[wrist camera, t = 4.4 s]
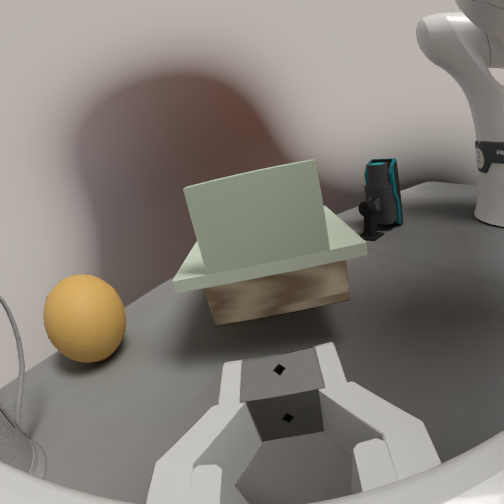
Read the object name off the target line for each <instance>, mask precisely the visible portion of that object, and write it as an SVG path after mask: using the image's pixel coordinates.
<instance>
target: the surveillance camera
mask: <svg viewBox="0 0 504 504" xmlns="http://www.w3.org/2000/svg"><path fill="white" fill-rule="evenodd" d="M365 180H366V186H364V187H365V194H366V201H364V202H362V203H361V204H360V205H359V212H360V214H361V215H362V216H364V232H363V234H361V235H360V237H361V238H362V239H363V240H369V241H375V240H377V239H378V238H380V237H381V236H382V235H384V233H381V232H377V231H376V229H375V226H374V224H386V225H387V224H403V217H402V205H401V195H400V185H399V177H398V169H397V162H396V159H394V158H393V159H373V160H371V161H369V163H368V164H367V165H366V169H365Z"/></svg>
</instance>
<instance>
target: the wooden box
mask: <svg viewBox="0 0 504 504" xmlns="http://www.w3.org/2000/svg"><path fill="white" fill-rule="evenodd" d="M204 291H205V295H206V298H207V301H208V304H209V307H210V310H211V313H212V316H213V319H214V322H215V325H222V324H228V323H234V322H240V321H246V320H252V319H257V318H263V317H268V316H273V315H279V314H284V313H289V312H294V311H299V310H304V309H308V308H313V307H318V306H322V305H327V304H332V303H336V302H340V301H345V300H349V288H348V277H347V268H346V260H343V261H338V262H333V263H329V264H324V265H319V266H314V267H310V268H305V269H300V270H295V271H290V272H285V273H280V274H275V275H270V276H265V277H260V278H255V279H250V280H245V281H240V282H235V283H229V284H224V285H219V286H213V287H208V288H204Z"/></svg>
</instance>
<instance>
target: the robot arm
mask: <svg viewBox="0 0 504 504" xmlns="http://www.w3.org/2000/svg"><path fill="white" fill-rule="evenodd" d="M456 3H457V5H458V6H459V9H460V10H461V11H462V13H438V14H434V15H430V16H426V17H423V18H421V19H420V21H419V23H418V25H417V29H416V36H417V41H418V44H419V46H420V49H421V50H422V52H423V53H424V55H425V56H426V57H427V58H428V59H429V60H430V61H431V62H433V63H434V64H436V65H437V66H439V67H441V68H442V69H444V70H445V71H446V72H448V73H449V74H450V75H451V76H452V77H453V78H454V79H455V80H456V81H457V83H458V84H459V85H460V87H461V88H462V90H463V91H464V93H465V95H466V97H467V100H468V102H469V105H470V109H471V112H472V117H473V121H474V126H475V132H476V139H477V140H476V142H475V148H476V161H477V167H478V170H479V187H478V197H477V203H476V208H475V211H474V215H475V217H476V218H478V219H479V220H481V221H483V222H486V223H489V224H493V225H497V226H502V227H504V86H503V85H501V84H499V83H498V82H497V81H496V80H495V79H494V77H493V76H492V75H491V73H490V71H489V70H488V68H503V69H504V0H456ZM322 431H324V433H325V434H326V435H328V436H329V437H330V438H331V439H332V440H333V441H334V442H335V443H336V444H337V445H338V446H340V447H341V448H342V449H343V450H344V451H345V452H346V453H347V454H348V455H350V456H351V457H352V458H353V463H352V478H351V493H352V495H348V496H343V497H339V498H334V499H329V500H324V501H319V502H313V503H307V504H504V430H503V431H501V432H500V433H498V434H496V435H495V436H493V437H491V438H490V439H488V440H486V441H484V442H483V443H481V444H479V445H477V446H476V447H474V448H472V449H470V450H468V451H466V452H464V453H462V454H460V455H458V456H456V457H454V458H452V459H450V460H448V461H446V462H444V463H441V461H440V459H439V457H438V454H437V452H436V450H435V448H434V445H433V443H432V441H431V439H430V437H429V434H428V432H427V430H426V428H425V426H424V424H423V422H422V421H421V420H419V419H417V418H415V417H414V416H412V415H410V414H408V413H406V412H405V411H403V410H401V409H399V408H398V407H396V406H394V405H392V404H391V403H389V402H387V401H385V400H384V399H382V398H380V397H378V396H377V395H375V394H373V393H372V392H370V391H368V390H366V389H365V388H363V387H361V386H360V385H358V384H356V383H355V382H353V381H352V382H348V383H347V380H346V378H345V375H344V372H343V369H342V366H341V363H340V360H339V357H338V354H337V351H336V349H335V346H334V343H332V342H329V343H325V344H321V345H317V346H314V347H311V348H306V349H302V350H297V351H292V352H287V353H282V354H276V355H270V356H264V357H257V358H250V359H243V360H238V361H230V362H225V363H224V365H223V369H222V377H221V385H220V393H219V400H218V405H216V406H212V407H211V408H210V409H209V410H208V411H207V412H206V413H205V414H204V415H203V416H202V417H201V418H200V420H199V421H198V422H197V423H196V424H195V425H194V426H193V427H192V428H191V429H190V430H189V431H188V432H187V433H186V434H185V435H184V436H183V437H182V438H181V439H180V440H179V441H178V442H177V443H176V444H175V445H174V446H173V447H172V448H171V449H170V450H169V451H168V452H167V453H165V454H164V455H163V456H162V457H161V458H160V459H159V460H158V461H157V462H156V465H155V469H154V473H153V477H152V481H151V485H150V489H149V493H148V497H147V502H146V504H249V503H248V502H247V501H246V500H245V498H244V497H243V496H242V495H241V493H240V492H239V491H238V490H237V488H236V487H235V484H236V483H237V482H238V480H239V479H240V477H241V476H242V474H243V473H244V471H245V470H246V468H247V467H248V465H249V463H250V462H251V460H252V459H253V457H254V456H255V454H256V452H257V451H258V449H259V448H260V446H261V444H262V442H263V441H269V440H275V439H281V438H287V437H292V436H299V435H305V434H311V433H317V432H322ZM0 504H136V503H130V502H125V501H120V500H115V499H110V498H105V497H101V496H97V495H93V494H89V493H85V492H82V491H78V490H75V489H71V488H68V487H65V486H62V485H59V484H56V483H53V482H50V481H47V480H44V479H42V478H39V477H36V476H34V475H31V474H29V473H26V472H24V471H22V470H19V469H17V468H15V467H13V466H10V465H8V464H6V463H4V462H2V461H0Z"/></svg>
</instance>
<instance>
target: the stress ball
mask: <svg viewBox="0 0 504 504" xmlns="http://www.w3.org/2000/svg"><path fill="white" fill-rule="evenodd" d="M44 325H45V329H46V332H47V334H48V338H49V339H50V341H51V342H52V344H53V345H54V346H55V348H57V350H58V351H59V352H61V353H62V354H63V355H65V356H66V357H68V358H70V359H72V360H75V361H78V362H84V363H90V362H96V361H97V362H99V361H104V360H106V359H107V358H109V357H110V356H111V355H112V353H113V352H114V351H115V350H116V349H117V347H118V346H119V344H120V343H121V341H122V339H123V336H124V332H125V328H126V316H125V310H124V307H123V304H122V302H121V300H120V298H119V296H118V294H117V292H116V290H115V289H114V288H113V287H111V286H110V285H109V284H107V283H106V282H105V281H103V280H101V279H99V278H97V277H94V276H91V275H73V276H70V277H68V278H65V279H63V280H61V281H60V282H59V283H58V284H57V285H56V286H55V287H54V288H53V289H52V290H51V292H50V293H49V295H48V296H47V298H46V302H45V307H44Z"/></svg>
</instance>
